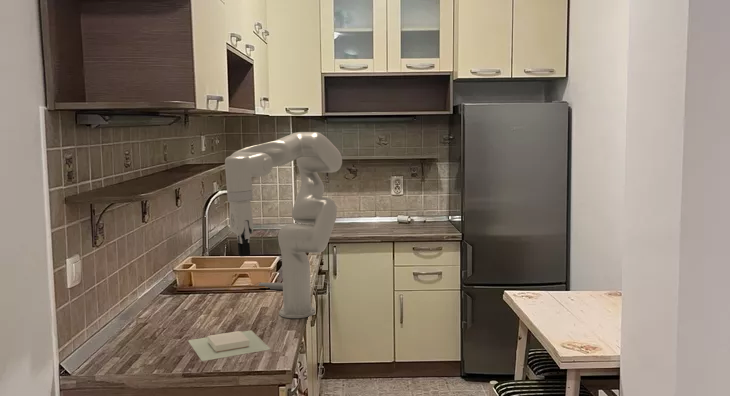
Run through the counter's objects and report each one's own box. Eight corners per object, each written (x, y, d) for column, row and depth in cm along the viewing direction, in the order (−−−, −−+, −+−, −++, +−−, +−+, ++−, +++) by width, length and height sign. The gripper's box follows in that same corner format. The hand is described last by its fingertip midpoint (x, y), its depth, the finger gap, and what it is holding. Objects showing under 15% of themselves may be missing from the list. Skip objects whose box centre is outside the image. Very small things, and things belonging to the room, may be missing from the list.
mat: (187, 342, 201) (187, 340, 201) (251, 332, 209) (251, 330, 209) (202, 363, 183) (201, 361, 183) (270, 351, 192) (270, 349, 191)
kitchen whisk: (259, 286, 269) (259, 271, 268) (334, 294, 256) (334, 278, 255) (251, 290, 263) (251, 275, 262) (327, 298, 250) (327, 281, 250)
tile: (207, 335, 198) (215, 345, 189) (240, 330, 202) (249, 340, 193) (207, 342, 198) (215, 352, 189) (240, 337, 203) (249, 347, 194)
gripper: (221, 194, 203) (226, 252, 206) (234, 200, 190) (239, 262, 193) (245, 192, 206) (249, 249, 209) (259, 198, 193) (263, 258, 196)
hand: (244, 255), depth 201 cm, fingers closed
